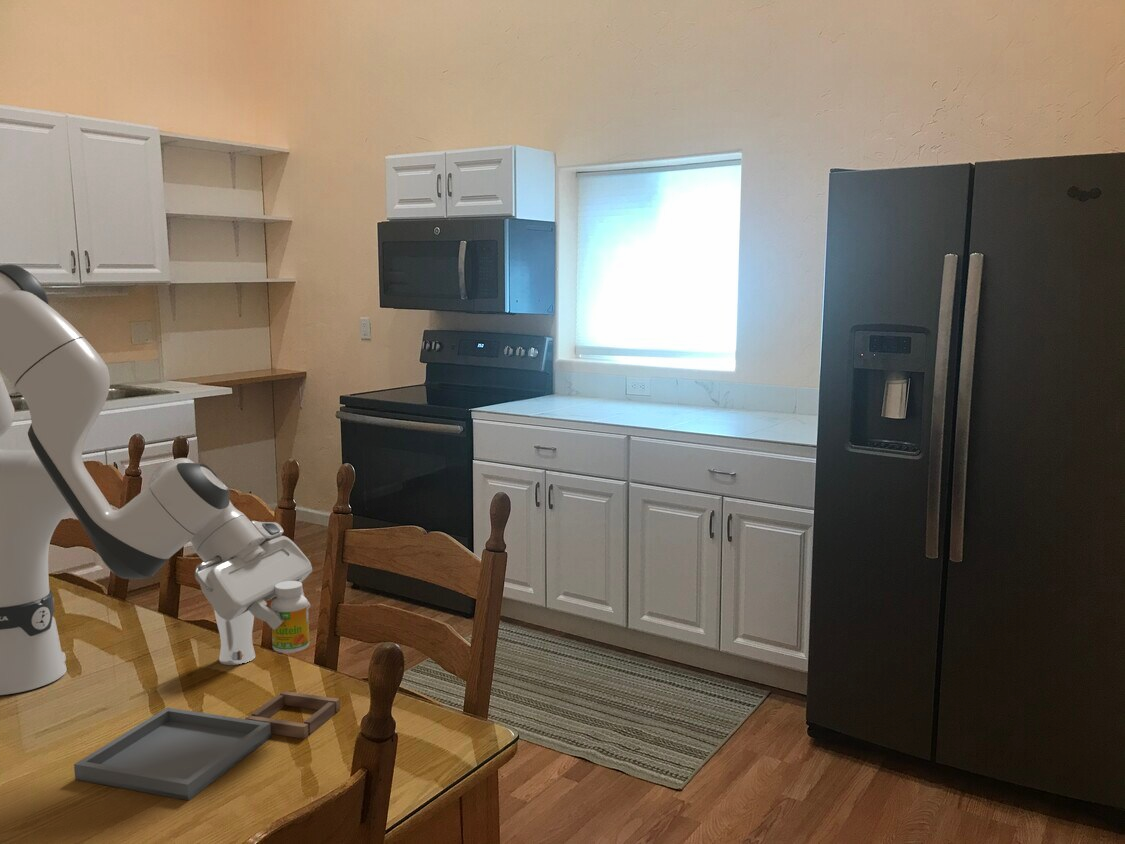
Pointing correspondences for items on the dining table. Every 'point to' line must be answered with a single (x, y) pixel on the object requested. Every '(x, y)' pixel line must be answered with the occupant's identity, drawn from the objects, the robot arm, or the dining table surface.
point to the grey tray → (173, 753)
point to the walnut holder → (294, 729)
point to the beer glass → (236, 639)
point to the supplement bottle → (290, 618)
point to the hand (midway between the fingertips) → (293, 617)
